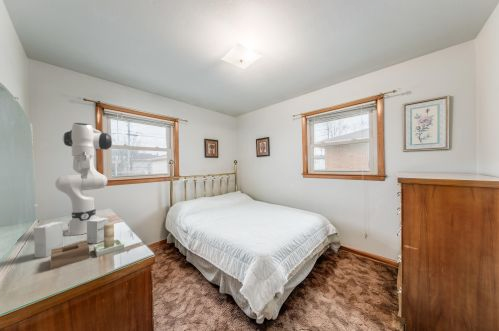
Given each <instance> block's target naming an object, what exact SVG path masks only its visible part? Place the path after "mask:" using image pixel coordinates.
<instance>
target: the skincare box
mask: <svg viewBox="0 0 499 331" xmlns="http://www.w3.org/2000/svg"><path fill="white" fill-rule="evenodd" d="M63 225H64V224H63V221H50V222H49V223H48V222H47V223H46V224H41V225H38V226H35V227H33V238H34V239H33V240H34V241H33V243H34V258H48V257H49V256H50V257H51V251H52V249H55V248H59V247H64V231H63V230H64V226H63Z"/></svg>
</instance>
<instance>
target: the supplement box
mask: <svg viewBox="0 0 499 331" xmlns="http://www.w3.org/2000/svg"><path fill="white" fill-rule="evenodd" d="M109 220H110V218H109V217H99V218H96V219H93V220H89V221H87V233H86V241H87V243H88V244H100V243H101V242H104V225H106V224H110V221H109Z"/></svg>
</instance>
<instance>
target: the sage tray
mask: <svg viewBox="0 0 499 331" xmlns="http://www.w3.org/2000/svg"><path fill="white" fill-rule="evenodd" d="M121 249H122V250H125V243H124V242H123V241H122V239H120V238H118V239H114V247H110V248H107V249H104V242H102V243H101V242H100V243H96V244H94V245H93V251H94V253H95V255H96V257H97V258H98V257H101V256H105V255H108V254H112V253H116V252H119V251H121Z"/></svg>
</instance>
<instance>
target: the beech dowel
mask: <svg viewBox="0 0 499 331" xmlns="http://www.w3.org/2000/svg"><path fill="white" fill-rule="evenodd" d="M114 228H115V224H114V223H109V224H106V225H104V241H103V243H104V249H107V248H110V247H114V240H115V229H114Z"/></svg>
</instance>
